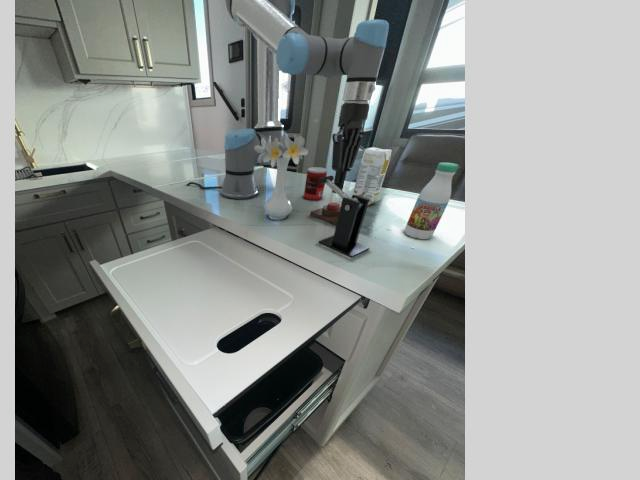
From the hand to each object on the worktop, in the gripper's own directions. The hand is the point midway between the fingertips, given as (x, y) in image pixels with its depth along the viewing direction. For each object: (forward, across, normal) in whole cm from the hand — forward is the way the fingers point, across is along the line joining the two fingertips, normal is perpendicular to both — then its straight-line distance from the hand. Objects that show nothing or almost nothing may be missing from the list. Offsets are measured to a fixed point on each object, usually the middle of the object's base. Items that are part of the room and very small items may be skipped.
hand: (336, 192), depth 86 cm
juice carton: (+9, +26, +4) cm, 28 cm away
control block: (+9, 0, 0) cm, 9 cm away
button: (+5, 0, 0) cm, 5 cm away
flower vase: (+9, -14, +13) cm, 21 cm away
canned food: (+9, +14, +20) cm, 26 cm away
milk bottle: (+9, +12, -24) cm, 28 cm away
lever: (-4, -15, -11) cm, 19 cm away
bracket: (+9, -15, -16) cm, 24 cm away
